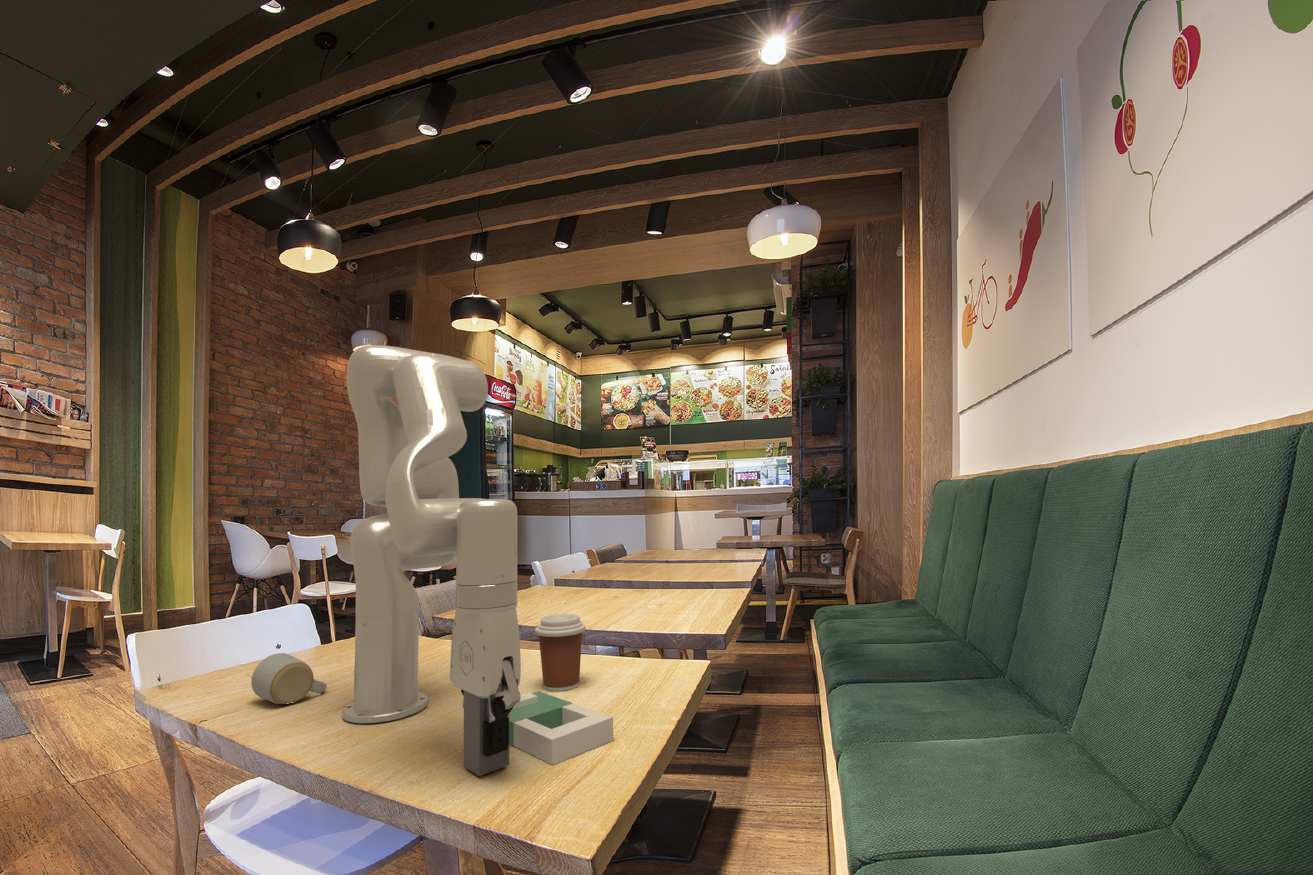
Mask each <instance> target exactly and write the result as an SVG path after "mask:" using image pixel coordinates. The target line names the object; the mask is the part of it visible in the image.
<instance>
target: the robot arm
mask: <svg viewBox="0 0 1313 875" xmlns="http://www.w3.org/2000/svg"><path fill="white" fill-rule="evenodd" d="M346 367H347V368H346V388H347V389H346V390H347V391H346V392H347V396H348V398H349V403H350V405H351V408H352V411H353V414H354V417H355V421H356V424H357V432H358V467H359V473H358V474H359V475H358V476H359V488H360V494H361V497H362V500H364V503H367V504H368V505H371V506H373V507H374V506H376V507H385V508H386V512H387V513H385V514H377V515H373V516H367V517H365V518H363V519H362V520H360V521H359V522H358V523H357V524H356V525H355V526H354V528H353V529H352V532H351V534H350V551H351V557H352V563H353V571H354V579H355V580H354V581H355V584H354V585H355V628H354V629H355V631H354V632H355V636H354V637H355V638H354V639H355V640H354V673H353V674H354V678H353V679H354V682H353V701H351V702H350V703H348V704H346V706H344V707H343V709H342V719H344V720H345V721H346V722H349V723H353V724H375V723H377V724H378V723H385V722H390V721H394V720H399V719H402V718H406V717H408V716H412V715H414V714H416V713H419V712H421V711H422V710H424V709H426V708H425V707H427V706H428V702H429V700H428V698H429V697H428V695H427V694H426V693H425V692H422V691H419V637H420V634H419V631H420V630H419V626H420V625H419V624H420V622H419V620H420V619H419V617H420V613H419V612H420V610H419V609H420V606H419V605H420V603H419V602H420V600H419V594H418V591H417V589H416V588H415V587H414V585H413V584H412V582H411V581H410V580H409V579H408V578H407V576H406V575H405V573H404V572H406V571H411V570H420V569H429V568H430V569H431V568H437V567H443V566H448V565H450V564H452V563H453V562H454V561H456V566H455V567H456V568H455V569H456V572H455V574H456V575H455V576H456V577H455V580H456V583H455V612H454V617H453V618H454V619H453V625H452V634H451V646H450V662H449V664H450V668H449V680H450V683H451V684H452V685H453V686H454V687H456V688H458V689H460V692H461V694H462V696H463V698H462V709H463V710H464V691H466V692H468V693H470V694H473V695H475V696H477V697H480V698H483V699H485V705H486V717H487V721H484V722H483V754H484V755H485V756H486V757H488V756H491V755H494V754H497V753H500V752H502V751H505V750H507V749H508V748H509V749H510V744H509V717H510V716H511V713H512V712H511V710H512V708H513V707H514V706H515V705H516V704H517V703H518V702H519V701H520V699H521V696H520V695H521V693H520V690H519V686H520V684H521V666H522V665H521V660H522V659H521V657H522V656H521V643H520V642H521V641H520V640H521V639H520V638H521V637H520V630H519V620H518V619H519V618H518V612H517V607H518V508H517V506H516V504H515V503H514V501H512V500H510V499H505V498H488V499H487V498H478V497H477V498H476V497H475V498H474V497H471V498H469V497H468V498H467V497H466V498H463V497H461V498H460V492H459V486H460V485H459V478H458V471H457V469H456V466H455V465H454V463H453V461H452V459H450V458H449V457H451V456H452V455H454V454H456V453H458V452H459V451H460V450H461V449H462V448H463V446H464V445H465V443H466V442H467V439H468V433H467V429H466V427H465V426H466V425H465V423H464V419H463V416H462V413H461V412H476V411H478V410H479V409H481V408H482V407H483V406H484V405H485V403H486V400H487V399H488V398H487V397H488V393H489V392H488V391H489V384H488V381H487V380H488V379H487V377H486V374H485V372H484V371H483V369H482V368H481V367H480V366H479V364H477V363H476V362H474V361H471V360H466V359H462V358H458V357H454V356H451V355H445V354H440V353H435V352H428V351H422V350H416V349H411V348H404V347H399V346H393V345H392V346H391V345H382V344H381V345H379V344H377V345H376V344H373V345H372V344H371V345H364V346H361V347H359V348H356V350H354V351H353V352H352V354H351V355H350V357H349V360H348V363H347V366H346ZM392 397H395V398H396V402H397V404H396V402H395V401H394V400H393V399H392ZM499 686H501V687H502V690H499V691H497V689H498V687H499ZM498 697H501V698H502V700H500V701H498V702H497V704H496V705H495V707H494V699H495V698H498Z"/></svg>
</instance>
